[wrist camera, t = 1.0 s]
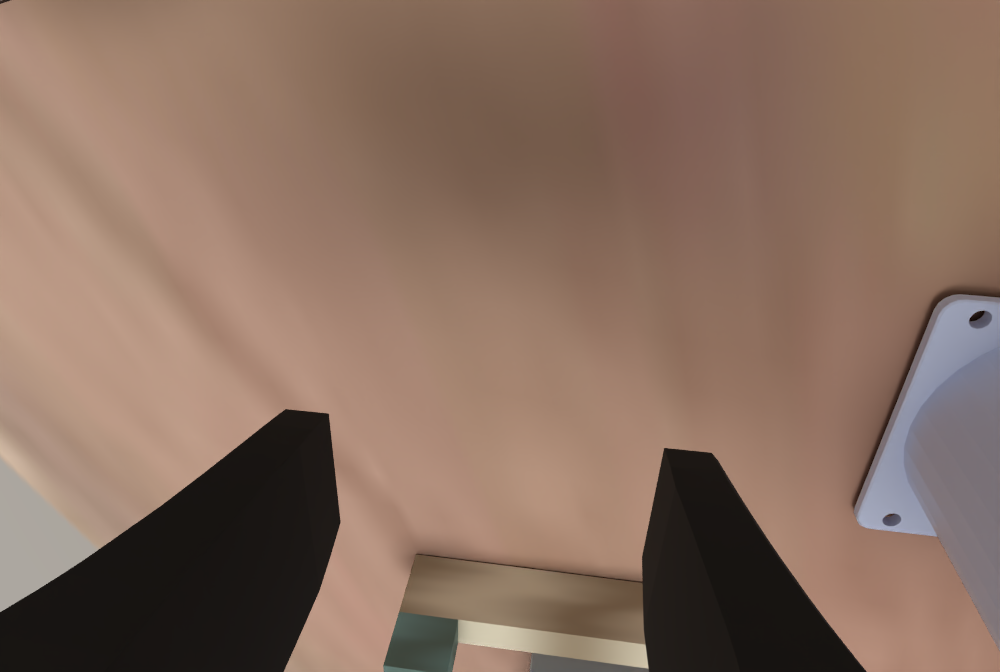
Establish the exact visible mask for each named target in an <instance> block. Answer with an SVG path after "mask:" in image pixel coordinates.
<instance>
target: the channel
mask: <svg viewBox="0 0 1000 672" xmlns="http://www.w3.org/2000/svg"><path fill="white" fill-rule="evenodd" d="M458 643H464V644H472V645H479V646H486V647H494V648H501V649H508V650H516V651H523V652H530V653H538V654H545V655H552V656H560V657H567V658H574V659H582V660H589V661H596V662H604V663H611V664H618V665H626V666H633V667H640V668H648V660H647V653H646V645H645V637H644V623H643V583H639V582H631V581H623V580H615V579H607V578H599V577H592V576H584V575H576V574H568V573H560V572H552V571H544V570H536V569H528V568H520V567H512V566H504V565H496V564H488V563H481V562H473V561H465V560H457V559H449V558H441V557H433V556H425V555H417V554H416V557H415V560H414V563H413V567H412V570H411V574H410V577H409V580H408V584H407V587H406V591H405V594H404V597H403V601H402V604H401V608H400V611H399V614H398V618H397V621H396V625H395V628H394V631H393V635H392V638H391V642H390V645H389V648H388V652H387V655H386V659H385V662H384V665H383V667H384V672H452V670H453V665H454V660H455V655H456V650H457V645H458ZM648 669H649V668H648Z"/></svg>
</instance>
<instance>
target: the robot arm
mask: <svg viewBox="0 0 1000 672" xmlns="http://www.w3.org/2000/svg"><path fill="white" fill-rule="evenodd" d="M984 310H985V313H984V315H983V316H982V317H981V318H980V319H978V320H976V321H969V319H970V317H971V316H972V315H973V314H974V313H976V312H978V311H984ZM854 514H855V517H856V519H857V521H858V523H859V524H860V525H861V526H863V527H865V528H869V529H877V530H886V531H894V532H903V533H911V534H920V535H929V536H937V537H938V538H939V540H940V542H941V544H942V546H943V547H944V549H945V551H946V553H947V555H948V557H949V559H950V560H951V562H952V564H953V566H954V568H955V570H956V571H957V573H958V575H959V577H960V579H961V581H962V583H963V584H964V586H965V588H966V590H967V592H968V594H969V595H970V597H971V599H972V601H973V603H974V605H975V607H976V608H977V610H978V612H979V614H980V616H981V618H982V620H983V621H984V623H985V625H986V627H987V629H988V631H989V632H990V634H991V636H992V638H993V640H994V642H995V644H996V645H997V647H998V649H999V651H1000V298H999V297H987V296H976V295H964V294H958V295H951V296H949V297H946V298H944V299H943V300H942V301H940V302H939V303H938V304H937V306H936V307H935V309H934V311H933V313H932V316H931V318H930V320H929V323H928V325H927V328H926V330H925V333H924V335H923V338H922V340H921V343H920V345H919V348H918V350H917V353H916V355H915V358H914V360H913V363H912V365H911V368H910V370H909V373H908V375H907V378H906V380H905V383H904V385H903V388H902V390H901V393H900V395H899V398H898V400H897V403H896V405H895V408H894V410H893V413H892V415H891V418H890V420H889V423H888V425H887V428H886V430H885V433H884V435H883V438H882V440H881V443H880V445H879V448H878V450H877V453H876V455H875V458H874V460H873V463H872V465H871V468H870V470H869V473H868V475H867V478H866V480H865V483H864V485H863V488H862V490H861V493H860V495H859V498H858V500H857V503H856V505H855V508H854ZM888 514H894V515H892V516H890V517H885V516H886V515H888ZM339 525H340V514H339V505H338V496H337V486H336V477H335V468H334V459H333V450H332V440H331V431H330V422H329V414H326V413H317V412H307V411H297V410H287V409H285V410H284V411H283V412H281V413H280V414H279V415H277V416H276V417H275V418H273V419H272V420H271V421H270V422H268V423H267V424H266V425H264V426H263V427H262V428H261V429H259V430H258V431H257V432H256V433H254V434H253V435H252V436H251V437H249V438H248V439H247V440H246V441H244V442H243V443H242V444H240V445H239V446H238V447H237V448H235V449H234V450H233V451H232V452H230V453H229V454H228V455H227V456H225V457H224V458H223V459H221V460H220V461H219V462H218V463H216V464H215V465H214V466H213V467H211V468H210V469H209V470H207V471H206V472H205V473H204V474H202V475H201V476H200V477H198V478H197V479H196V480H194V481H193V482H192V483H191V484H189V485H188V486H187V487H185V488H184V489H183V490H181V491H180V492H179V493H177V494H176V495H175V496H173V497H172V498H171V499H170V500H168V501H167V502H166V503H164V504H163V505H162V506H160V507H159V508H158V509H156V510H155V511H153V512H152V513H150V514H149V515H148V516H146V517H145V518H143V519H142V520H140V521H139V522H138V523H136V524H135V525H133V526H132V527H130V528H129V529H128V530H126V531H125V532H123V533H122V534H120V535H119V536H118V537H116V538H115V539H113V540H112V541H111V542H109V543H108V544H106V545H105V546H103V547H102V548H101V549H99V550H98V551H96V552H95V553H94V554H92V555H91V556H89V557H88V558H86V559H85V560H83V561H82V562H80V563H79V564H77V565H76V566H74V567H73V568H71V569H70V570H68V571H67V572H65V573H64V574H62V575H60V576H59V577H57V578H56V579H54V580H52V581H51V582H49V583H48V584H46V585H44V586H43V587H41V588H40V589H38V590H37V591H35V592H33V593H32V594H30V595H28V596H27V597H25V598H23V599H22V600H20V601H18V602H17V603H15V604H14V605H12V606H10V607H9V608H7V609H5V610H3V611H2V612H0V672H284V669H285V667H286V665H287V663H288V661H289V658H290V656H291V654H292V652H293V649H294V647H295V645H296V643H297V640H298V638H299V636H300V634H301V631H302V629H303V627H304V625H305V622H306V620H307V618H308V616H309V613H310V611H311V609H312V606H313V604H314V602H315V600H316V597H317V595H318V593H319V590H320V587H321V584H322V581H323V578H324V575H325V572H326V568H327V565H328V562H329V559H330V556H331V552H332V549H333V546H334V542H335V539H336V535H337V532H338V529H339ZM642 575H643V623H644V637H645V645H646V653H647V660H648V668H649V672H866V670H865V669H864V668H863V667H862V666H861V664H860V663H859V662H858V661H857V659H856V658H855V657H854V656H853V654H852V653H851V652H850V651H849V649H848V648H847V647H846V645H845V644H844V643H843V642H842V640H841V639H840V638H839V637H838V635H837V634H836V633H835V632H834V630H833V629H832V628H831V626H830V625H829V624H828V623H827V621H826V620H825V619H824V617H823V616H822V615H821V613H820V612H819V611H818V609H817V608H816V607H815V605H814V604H813V603H812V601H811V600H810V599H809V597H808V596H807V594H806V593H805V592H804V590H803V589H802V587H801V586H800V585H799V583H798V582H797V580H796V579H795V578H794V576H793V575H792V573H791V572H790V571H789V569H788V568H787V566H786V565H785V564H784V562H783V561H782V559H781V558H780V557H779V555H778V554H777V552H776V551H775V549H774V548H773V546H772V545H771V543H770V542H769V540H768V539H767V537H766V536H765V534H764V533H763V531H762V530H761V528H760V527H759V525H758V524H757V522H756V521H755V519H754V518H753V516H752V515H751V513H750V512H749V510H748V508H747V507H746V505H745V504H744V502H743V501H742V499H741V497H740V496H739V494H738V493H737V491H736V489H735V488H734V486H733V484H732V483H731V481H730V480H729V478H728V476H727V475H726V473H725V471H724V470H723V468H722V466H721V465H720V463H719V461H718V460H717V459H716V458H715V457H714V455H713V454H712V453H707V452H697V451H688V450H678V449H668V448H664V452H663V457H662V462H661V467H660V472H659V477H658V482H657V487H656V492H655V497H654V502H653V506H652V511H651V516H650V521H649V526H648V531H647V536H646V541H645V546H644V551H643V556H642Z"/></svg>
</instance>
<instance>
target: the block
mask: <svg viewBox="0 0 1000 672" xmlns="http://www.w3.org/2000/svg"><path fill="white" fill-rule="evenodd" d="M530 672H649V669H648V668H640V667H633V666H626V665H618V664H611V663H604V662H596V661H589V660H582V659H574V658H567V657H560V656H552V655H545V654H538V653H532V657H531V664H530Z"/></svg>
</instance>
